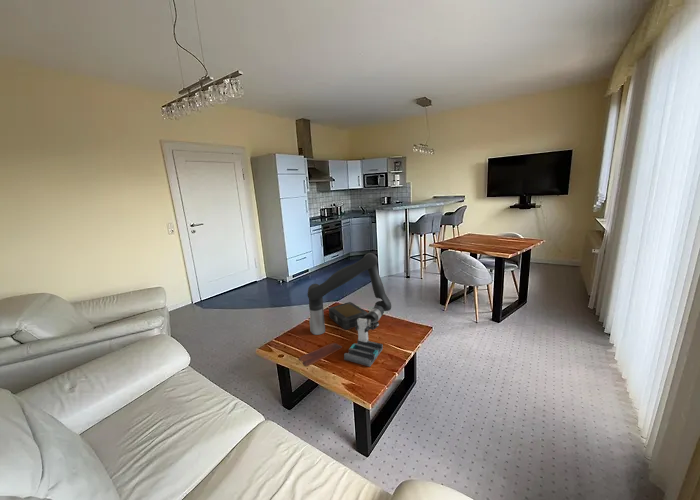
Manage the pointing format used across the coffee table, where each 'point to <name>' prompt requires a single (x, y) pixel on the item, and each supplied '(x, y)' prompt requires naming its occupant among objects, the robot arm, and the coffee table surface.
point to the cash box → (346, 314)
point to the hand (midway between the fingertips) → (360, 329)
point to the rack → (363, 352)
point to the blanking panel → (362, 330)
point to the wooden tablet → (319, 354)
